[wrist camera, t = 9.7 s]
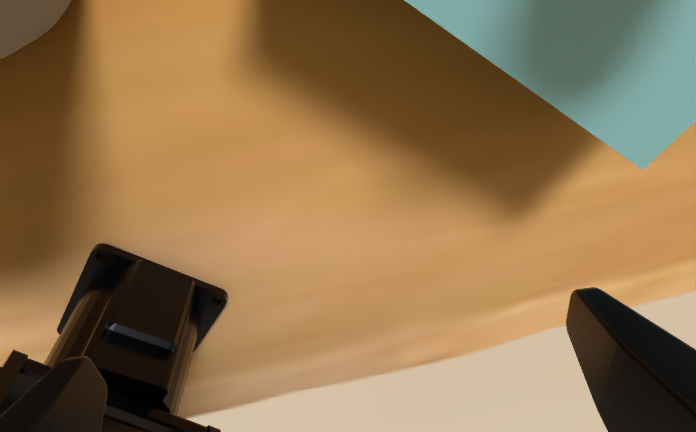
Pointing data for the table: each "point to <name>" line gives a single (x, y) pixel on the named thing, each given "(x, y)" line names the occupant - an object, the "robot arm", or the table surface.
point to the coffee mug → (27, 21)
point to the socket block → (591, 61)
